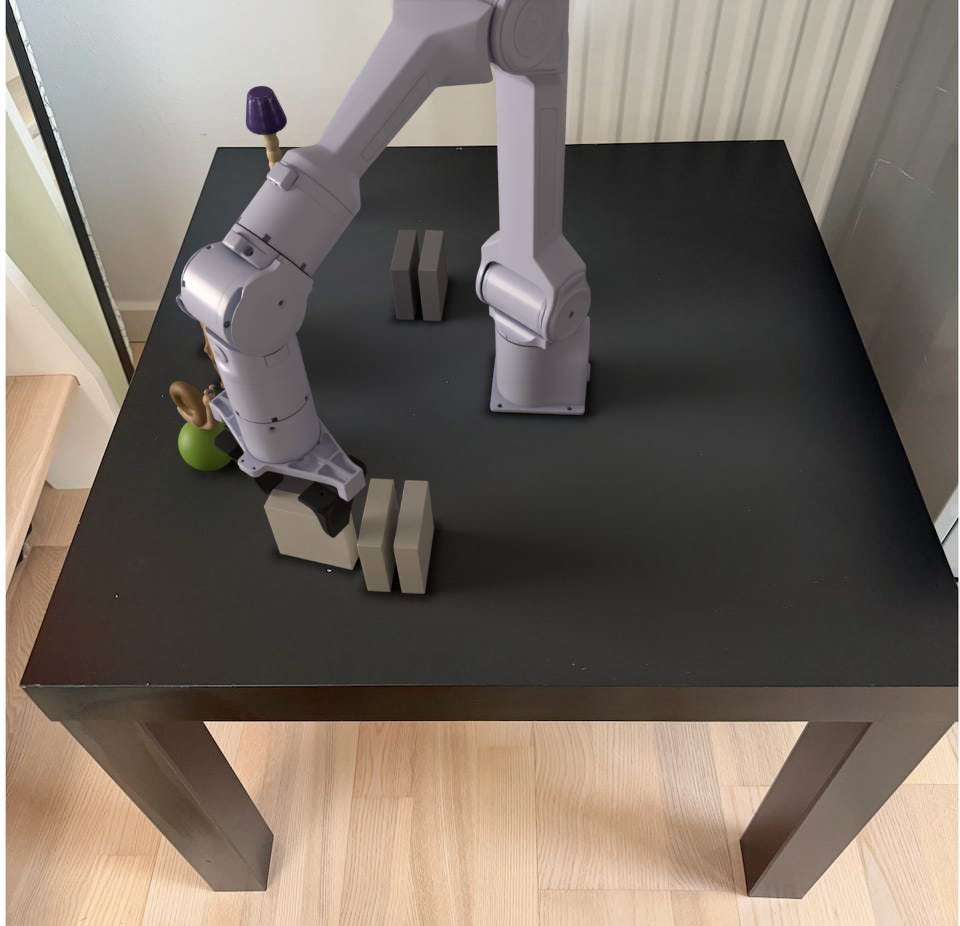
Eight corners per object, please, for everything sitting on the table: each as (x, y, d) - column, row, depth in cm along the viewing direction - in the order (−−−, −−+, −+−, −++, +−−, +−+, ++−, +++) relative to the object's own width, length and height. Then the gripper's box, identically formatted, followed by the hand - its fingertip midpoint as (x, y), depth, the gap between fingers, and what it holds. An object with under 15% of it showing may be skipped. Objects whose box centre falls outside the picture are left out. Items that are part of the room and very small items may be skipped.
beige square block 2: (434, 528, 83) (428, 480, 77) (424, 594, 78) (417, 548, 73) (412, 527, 83) (405, 479, 78) (401, 592, 79) (393, 547, 73)
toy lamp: (314, 212, 114) (288, 86, 101) (290, 232, 112) (261, 105, 99) (285, 201, 116) (256, 76, 103) (261, 220, 114) (228, 94, 101)
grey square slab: (422, 279, 105) (417, 229, 100) (414, 320, 101) (408, 270, 96) (405, 279, 105) (399, 229, 100) (396, 319, 101) (389, 269, 96)
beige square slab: (289, 536, 83) (273, 488, 77) (360, 552, 81) (349, 504, 76) (280, 553, 82) (263, 506, 76) (352, 570, 80) (340, 523, 75)
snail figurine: (224, 494, 86) (189, 408, 77) (175, 468, 88) (135, 381, 79) (262, 456, 89) (232, 369, 80) (213, 432, 91) (179, 344, 82)
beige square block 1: (401, 526, 83) (393, 479, 78) (390, 592, 79) (381, 547, 73) (380, 525, 83) (370, 478, 78) (367, 590, 79) (356, 545, 73)
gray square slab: (447, 280, 105) (444, 230, 100) (441, 321, 101) (436, 270, 95) (430, 280, 105) (426, 229, 100) (423, 320, 101) (417, 270, 95)
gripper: (161, 385, 66) (210, 497, 77) (304, 475, 61) (336, 583, 71) (232, 331, 70) (269, 446, 80) (373, 411, 64) (394, 523, 75)
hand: (304, 506), depth 76 cm, fingers open, 7 cm apart
